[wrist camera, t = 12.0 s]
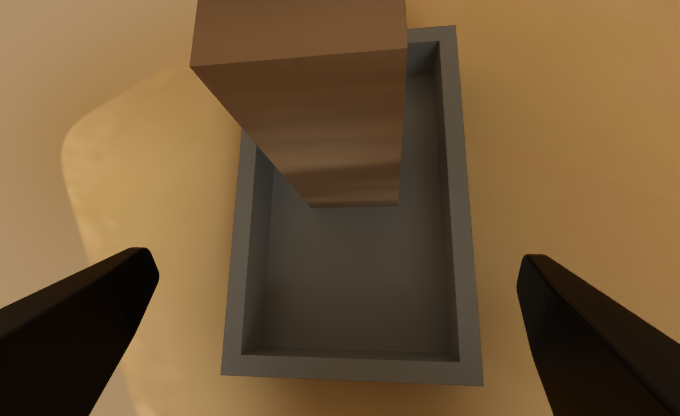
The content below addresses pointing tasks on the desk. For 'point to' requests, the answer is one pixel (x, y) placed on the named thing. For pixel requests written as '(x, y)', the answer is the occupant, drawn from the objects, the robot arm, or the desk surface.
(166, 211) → the desk surface
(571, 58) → the desk surface
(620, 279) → the desk surface
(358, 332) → the tray
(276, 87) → the walnut block
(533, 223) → the desk surface
